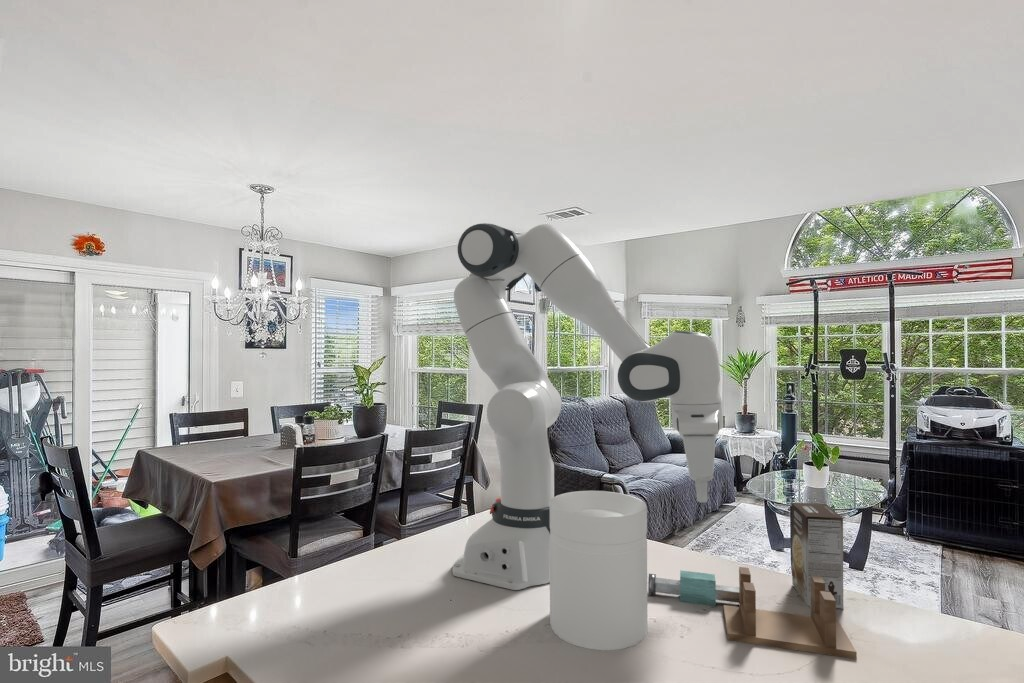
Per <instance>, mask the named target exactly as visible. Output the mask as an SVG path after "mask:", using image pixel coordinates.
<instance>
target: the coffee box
mask: <svg viewBox="0 0 1024 683" xmlns="http://www.w3.org/2000/svg"><path fill="white" fill-rule="evenodd" d="M791 570H792V571H791V573H792V574H791V576H792V577H791V578H792V580H791V581H792V586H793V587H794V589H795V591H797V593H798V595H799V597H800V598H801V600H803V602H804V604H805V605H806V606H807V607H809V606H810V607H811V577H810V575H818V576H821V577H822V579H823V581H824V582H825V592H831V594H832V595H833V597H834V599H835V600H836V609H844V518H843V517H842V516H841V515H840V514H839V513H837V511H835V510H834V509H833V508H831V507H830V505H828V504H827V503H814V502H813V503H811V502H791Z"/></svg>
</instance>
